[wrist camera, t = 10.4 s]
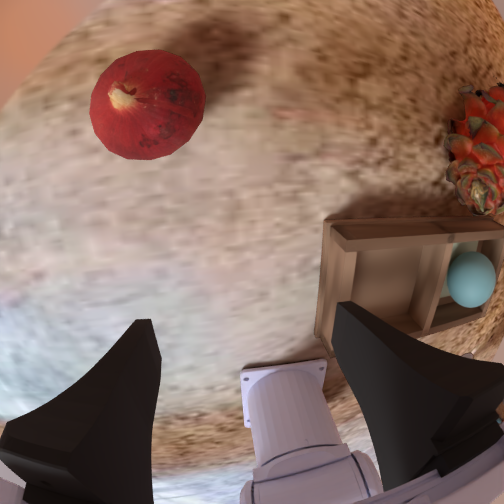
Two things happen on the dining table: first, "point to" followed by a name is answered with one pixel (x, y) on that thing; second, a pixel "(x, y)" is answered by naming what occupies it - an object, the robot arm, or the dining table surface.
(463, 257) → the ball
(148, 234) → the dining table surface
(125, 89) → the onion
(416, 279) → the divided wooden tray
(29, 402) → the dining table surface
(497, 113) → the dragon fruit
